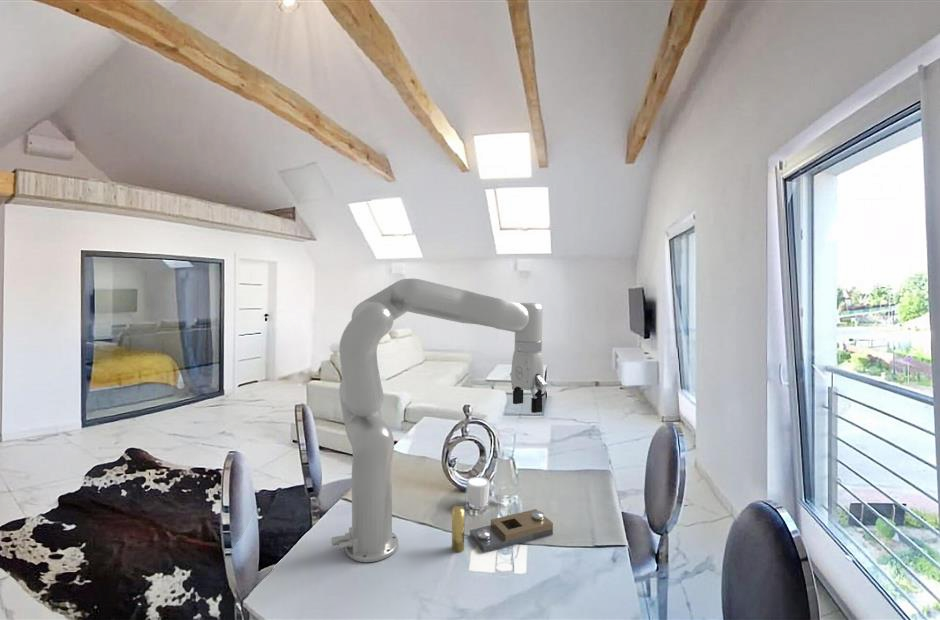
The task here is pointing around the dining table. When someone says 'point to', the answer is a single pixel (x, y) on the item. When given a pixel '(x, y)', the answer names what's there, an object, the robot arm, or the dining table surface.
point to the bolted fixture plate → (512, 530)
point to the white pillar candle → (478, 491)
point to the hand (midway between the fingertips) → (527, 407)
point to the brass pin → (458, 529)
